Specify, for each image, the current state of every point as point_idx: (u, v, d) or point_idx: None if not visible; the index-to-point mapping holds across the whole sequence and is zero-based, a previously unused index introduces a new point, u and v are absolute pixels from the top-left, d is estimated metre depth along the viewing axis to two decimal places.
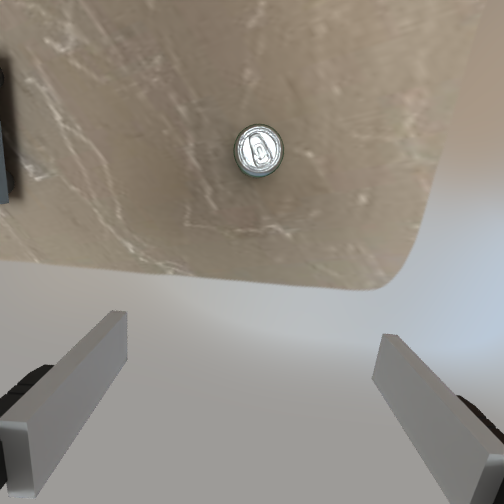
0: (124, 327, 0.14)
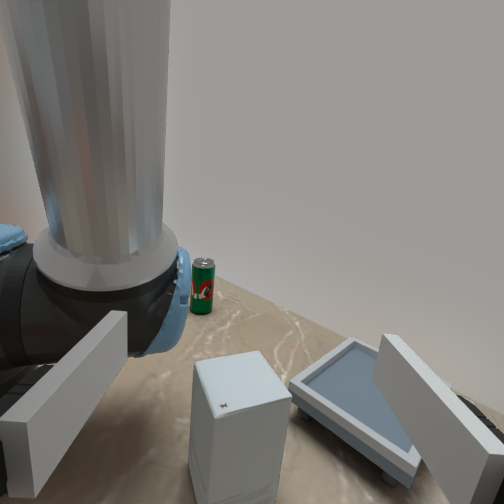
0: (124, 327, 0.14)
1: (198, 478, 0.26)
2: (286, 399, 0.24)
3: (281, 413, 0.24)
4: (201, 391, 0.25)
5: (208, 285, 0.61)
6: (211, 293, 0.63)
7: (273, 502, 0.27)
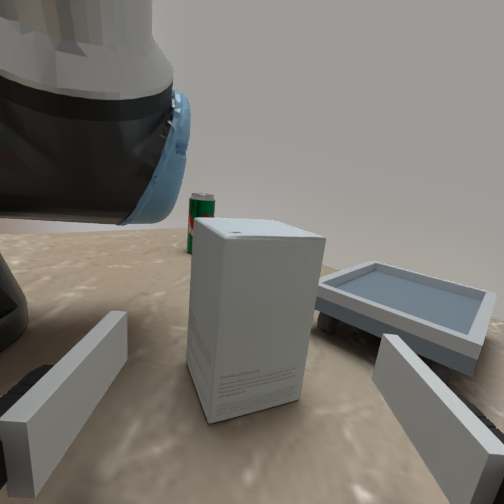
0: (124, 326, 0.14)
1: (200, 357, 0.19)
2: (319, 239, 0.18)
3: (312, 259, 0.18)
4: (204, 235, 0.19)
5: None
6: None
7: (297, 395, 0.21)
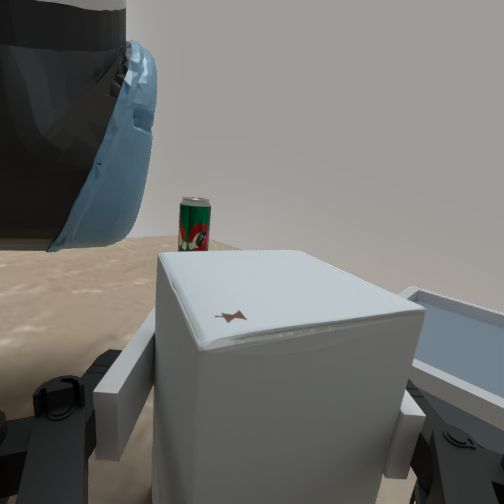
0: None
1: None
2: (413, 315, 0.08)
3: (398, 357, 0.08)
4: (167, 300, 0.09)
5: (202, 232, 0.45)
6: (205, 243, 0.47)
7: None
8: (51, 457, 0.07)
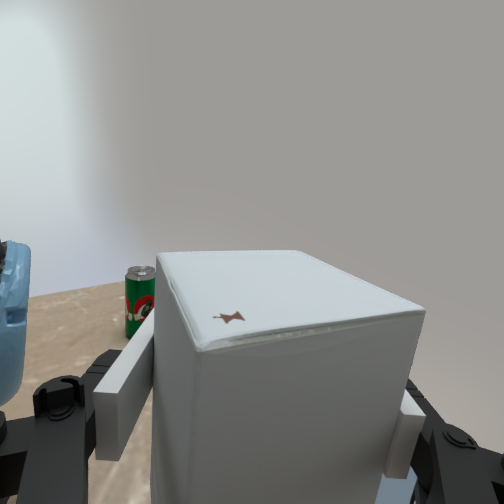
0: None
1: None
2: (413, 316, 0.08)
3: (397, 357, 0.08)
4: (166, 300, 0.09)
5: (147, 303, 0.46)
6: None
7: None
8: (51, 457, 0.07)
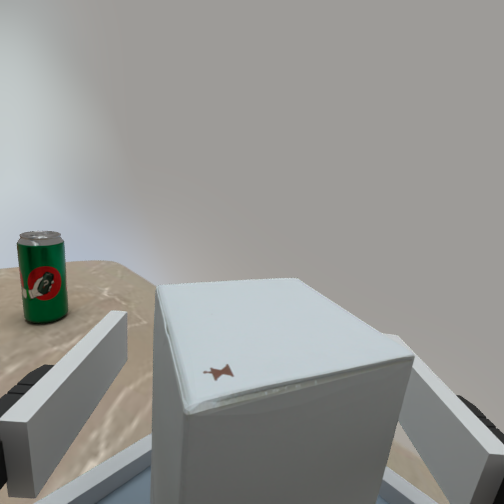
0: (125, 326, 0.14)
1: None
2: (401, 362, 0.08)
3: (386, 402, 0.09)
4: (162, 341, 0.09)
5: (45, 276, 0.37)
6: (55, 289, 0.38)
7: None
8: None
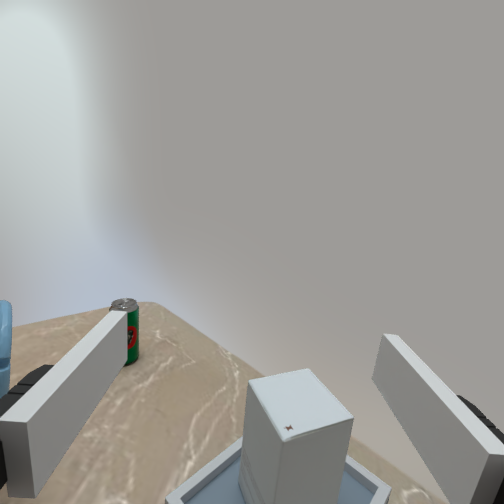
0: (125, 327, 0.14)
1: (257, 500, 0.25)
2: (348, 420, 0.24)
3: (343, 435, 0.24)
4: (261, 411, 0.25)
5: (128, 333, 0.52)
6: (133, 341, 0.53)
7: None
8: None
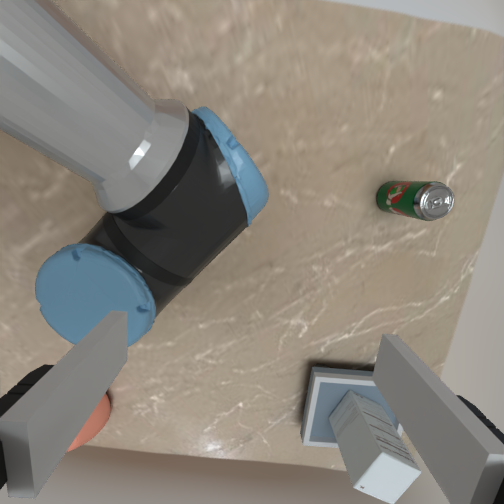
0: (124, 327, 0.14)
1: (341, 422, 0.49)
2: None
3: None
4: (365, 464, 0.40)
5: (408, 216, 0.41)
6: None
7: None
8: None
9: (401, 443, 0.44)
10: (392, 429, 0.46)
